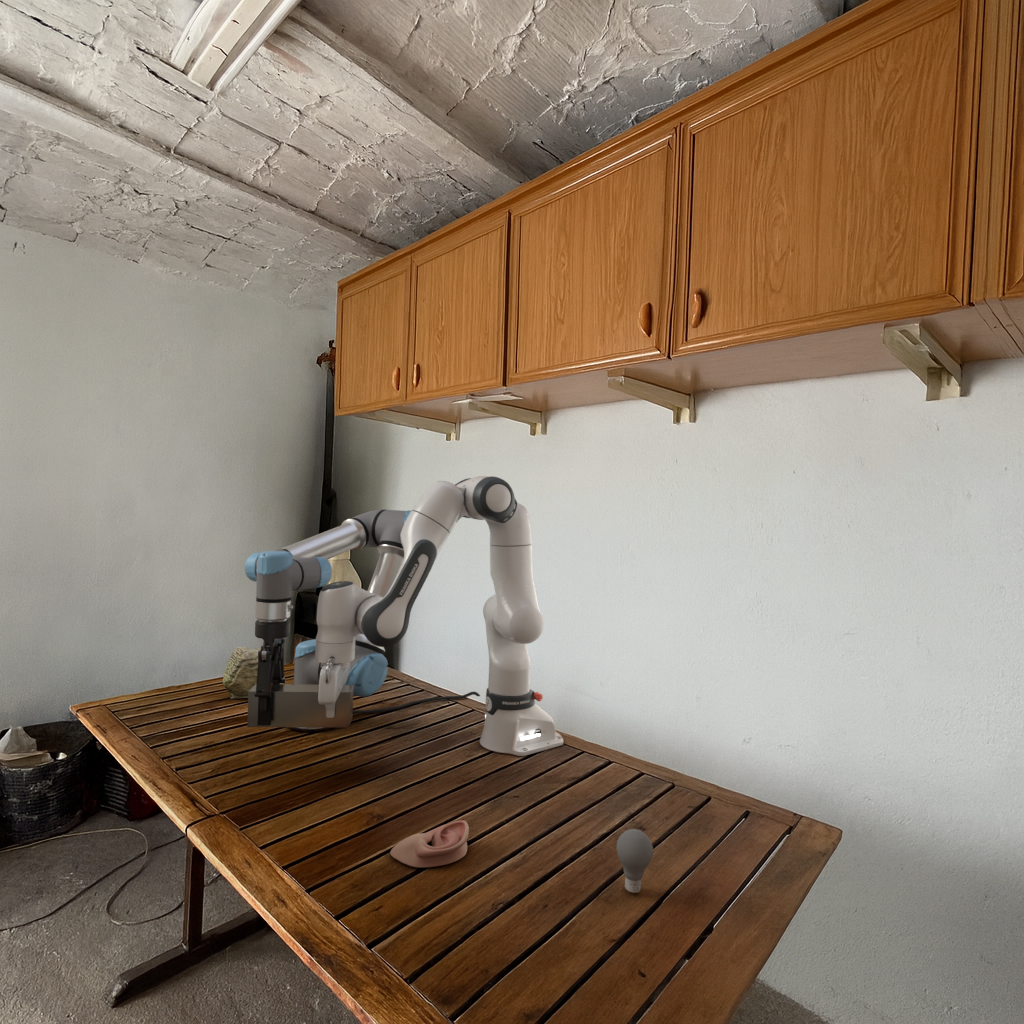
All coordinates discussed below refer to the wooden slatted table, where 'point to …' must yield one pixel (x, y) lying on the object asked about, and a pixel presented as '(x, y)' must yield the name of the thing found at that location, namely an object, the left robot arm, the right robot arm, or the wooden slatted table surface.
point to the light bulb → (634, 857)
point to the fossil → (241, 672)
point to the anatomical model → (434, 846)
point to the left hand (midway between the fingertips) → (269, 718)
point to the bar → (302, 707)
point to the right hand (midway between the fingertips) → (333, 711)
